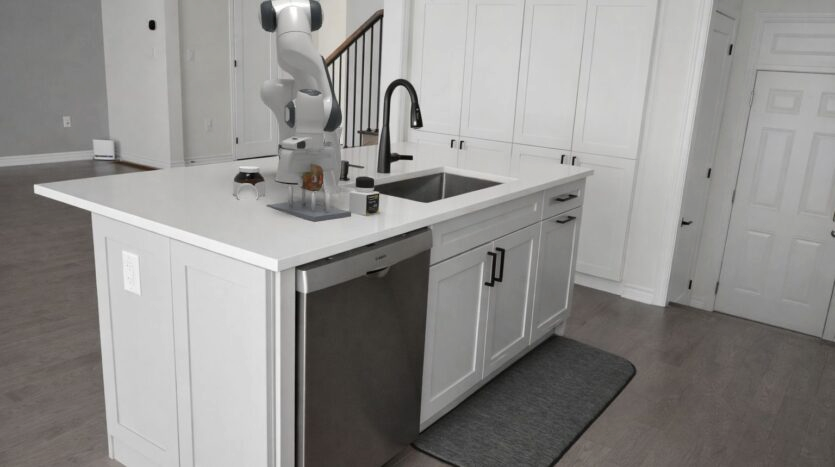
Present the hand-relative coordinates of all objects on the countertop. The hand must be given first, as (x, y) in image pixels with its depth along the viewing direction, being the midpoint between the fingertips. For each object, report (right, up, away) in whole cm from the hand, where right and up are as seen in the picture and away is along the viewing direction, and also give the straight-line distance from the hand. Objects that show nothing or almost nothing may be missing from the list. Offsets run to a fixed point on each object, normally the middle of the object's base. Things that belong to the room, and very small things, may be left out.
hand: (308, 186), depth 200 cm
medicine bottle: (+17, -9, +6) cm, 20 cm away
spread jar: (-23, -5, +16) cm, 28 cm away
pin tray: (-1, -8, +2) cm, 9 cm away
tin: (0, -1, 0) cm, 1 cm away
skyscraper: (+2, -2, +34) cm, 34 cm away
